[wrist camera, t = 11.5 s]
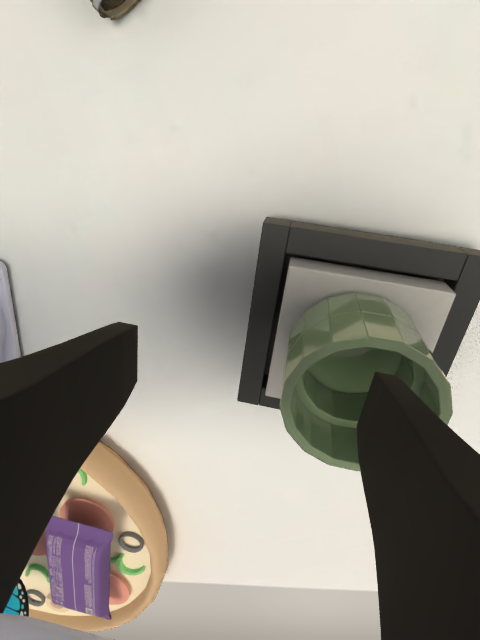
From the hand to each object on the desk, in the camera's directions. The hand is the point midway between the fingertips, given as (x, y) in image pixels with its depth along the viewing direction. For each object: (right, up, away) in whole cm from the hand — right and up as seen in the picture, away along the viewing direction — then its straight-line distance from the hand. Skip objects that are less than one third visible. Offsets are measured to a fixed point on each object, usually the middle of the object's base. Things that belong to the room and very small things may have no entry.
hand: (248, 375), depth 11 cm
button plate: (+5, +1, +7) cm, 9 cm away
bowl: (+5, 0, +6) cm, 8 cm away
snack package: (-15, -16, +17) cm, 28 cm away
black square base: (+6, +2, +10) cm, 11 cm away
